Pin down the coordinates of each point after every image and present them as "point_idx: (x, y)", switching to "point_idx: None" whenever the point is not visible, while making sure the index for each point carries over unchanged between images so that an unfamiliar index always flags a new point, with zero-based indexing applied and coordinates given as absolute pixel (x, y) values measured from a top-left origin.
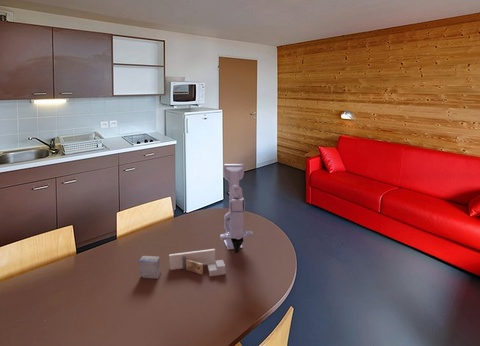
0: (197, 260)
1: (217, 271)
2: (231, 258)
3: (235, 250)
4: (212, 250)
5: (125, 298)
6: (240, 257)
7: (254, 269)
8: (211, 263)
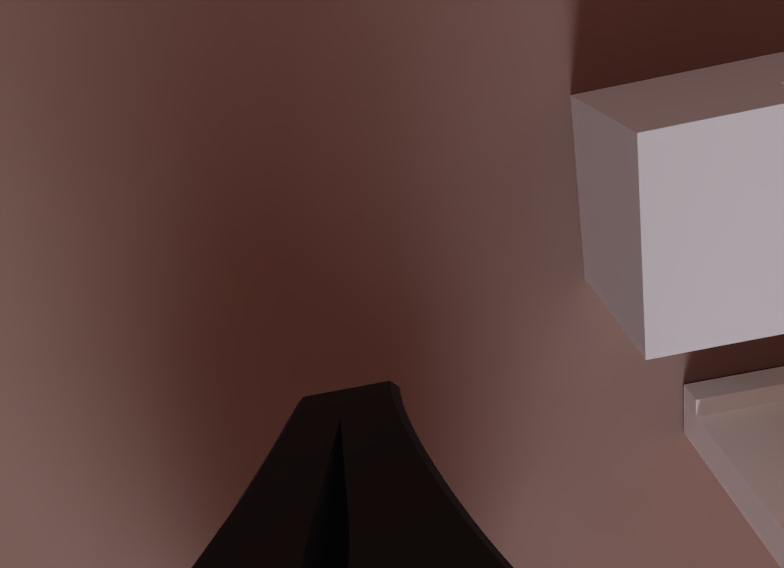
0: None
1: (757, 76)
2: None
3: (410, 433)
4: None
5: None
6: None
7: (21, 209)
8: (754, 381)
